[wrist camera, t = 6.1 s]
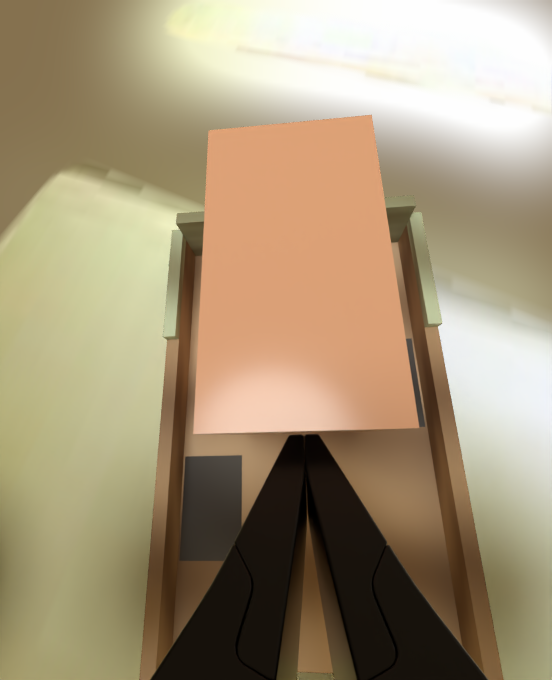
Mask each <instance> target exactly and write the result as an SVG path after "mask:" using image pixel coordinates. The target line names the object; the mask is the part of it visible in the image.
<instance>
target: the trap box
mask: <svg viewBox="0 0 552 680" xmlns="http://www.w3.org/2000/svg"><path fill="white" fill-rule="evenodd" d="M384 200H385V206H386V213H387V219H388V226H389V232H390V239H391V245H392V252H393V258H394V265H395V272H396V278H397V285H398V291H399V298H400V304H401V311H402V317H403V324H404V331H405V337H406V344H407V350H408V357H409V363H410V370H411V376H412V383H413V389H414V396H415V403H416V409H417V416H418V422H419V428H414V429H398V430H383V431H368V432H339V433H301V434H302V435H303V436H305V435H306V434H318V435H320V437H321V438H322V440H323V441H324V443H325V445H326V446H327V448H328V449H329V451H330V452H331V454H332V456H333V457H334V459H335V460H336V462H337V463H338V465H339V467H340V468H341V470H342V471H343V473H344V474H345V476H346V478H347V479H348V481H349V482H350V484H351V485H352V487H353V489H354V490H355V492H356V493H357V495H358V496H359V498H360V500H361V501H362V503H363V504H364V506H365V507H366V509H367V511H368V512H369V514H370V515H371V517H372V518H373V520H374V522H375V523H376V525H377V526H378V528H379V529H380V531H381V533H382V534H383V536H384V537H385V539H386V540H387V545H390V546H391V548H392V550H393V551H394V553H395V554H396V556H397V557H398V559H399V561H400V562H401V564H402V565H403V567H404V568H405V569H406V571H407V572H408V574H409V575H410V577H411V578H412V580H413V581H414V583H415V584H416V586H417V587H418V589H419V590H420V591H421V593H422V594H423V595H424V597H425V598H426V599H427V601H428V602H429V603H430V605H431V606H432V607H433V609H434V610H435V611H436V613H437V614H438V615H439V617H440V618H441V619H442V620H443V622H444V623H445V624H446V626H447V627H448V628H449V629H450V631H451V632H452V633H453V635H454V636H455V637H456V638H457V640H458V641H459V642H460V644H461V645H462V646H463V647H464V649H465V650H466V651H467V653H468V654H469V655H470V656H471V658H472V659H473V660H474V662H475V663H476V664H477V665H478V667H479V668H480V669H481V671H482V672H483V673H484V674H485V676H486V677H487V678H488V680H503V675H502V669H501V664H500V659H499V653H498V648H497V643H496V637H495V632H494V626H493V621H492V616H491V610H490V605H489V600H488V594H487V589H486V583H485V578H484V573H483V567H482V562H481V557H480V551H479V546H478V540H477V535H476V530H475V524H474V519H473V514H472V508H471V503H470V497H469V492H468V487H467V481H466V476H465V471H464V465H463V460H462V454H461V449H460V444H459V438H458V433H457V428H456V422H455V417H454V411H453V406H452V401H451V395H450V390H449V385H448V379H447V374H446V368H445V363H444V358H443V352H442V347H441V342H440V336H439V331H438V326H439V325H441V324H442V319H441V314H440V309H439V303H438V298H437V293H436V288H435V282H434V277H433V272H432V267H431V262H430V256H429V251H428V246H427V241H426V235H425V230H424V225H423V220H422V214H421V212H417V213H412V212H413V210H414V208H415V206H416V203H415V198H414V195H411V196H398V197H385V198H384ZM204 213H205V211H204V212H191V213H178V214H177V219H176V224H177V226H178V227H179V229H180V230H172V238H171V249H170V261H169V273H168V284H167V296H166V307H165V319H164V331H163V337H164V338H165V339H167V349H166V361H165V373H164V386H163V398H162V410H161V422H160V435H159V447H158V459H157V471H156V484H155V496H154V508H153V520H152V533H151V545H150V557H149V569H148V581H147V594H146V606H145V618H144V630H143V643H142V655H141V667H140V679H139V680H150V679H151V677H152V676H153V674H154V673H155V671H156V670H157V668H158V666H159V665H160V663H161V662H162V660H163V659H164V657H165V656H166V654H167V653H168V651H169V650H170V648H171V647H172V645H173V643H174V642H175V640H176V639H177V637H178V636H179V634H180V633H181V631H182V630H183V628H184V627H185V625H186V624H187V622H188V620H189V619H190V617H191V616H192V614H193V613H194V611H195V610H196V608H197V606H198V605H199V603H200V602H201V600H202V598H203V597H204V595H205V594H206V592H207V590H208V589H209V587H210V585H211V584H212V582H213V580H214V578H215V576H216V575H217V573H218V571H219V569H220V567H221V566H222V564H223V562H224V560H225V558H226V556H227V554H228V552H229V550H230V548H231V546H232V545H234V541H235V539H236V537H237V535H238V533H239V531H240V529H241V527H242V525H243V523H244V521H245V519H246V517H247V516H248V514H249V512H250V510H251V508H252V506H253V504H254V502H255V500H256V498H257V496H258V494H259V492H260V490H261V488H262V486H263V484H264V482H265V480H266V478H267V477H268V475H269V473H270V471H271V469H272V467H273V465H274V463H275V461H276V459H277V457H278V455H279V453H280V451H281V449H282V447H283V445H284V443H285V441H286V439H287V438H288V436H289V435H296V434H262V435H221V434H193V428H194V409H195V389H196V370H197V350H198V330H199V311H200V291H201V272H202V252H203V233H204ZM304 450H305V448H304ZM306 493H307V490H306ZM297 672H313V673H333V669H332V663H331V657H330V651H329V645H328V638H327V632H326V626H325V620H324V614H323V608H322V602H321V596H320V590H319V583H318V577H317V571H316V565H315V559H314V553H313V547H312V541H311V535H310V528H309V521H308V510H307V536H306V551H305V566H304V581H303V596H302V610H301V625H300V640H299V655H298V670H297Z"/></svg>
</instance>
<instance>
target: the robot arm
mask: <svg viewBox="0 0 552 680" xmlns="http://www.w3.org/2000/svg"><path fill="white" fill-rule="evenodd" d="M304 448H305V450H304ZM306 490H307V493H306ZM307 510H308V521H309V528H310V535H311V541H312V547H313V553H314V559H315V565H316V571H317V577H318V583H319V590H320V596H321V602H322V608H323V614H324V620H325V626H326V632H327V638H328V645H329V651H330V657H331V663H332V669H333V675H334V680H488V678H487V677H486V676H485V674H484V673H483V672H482V671H481V669H480V668H479V667H478V665H477V664H476V663H475V662H474V660H473V659H472V658H471V656H470V655H469V654H468V653H467V651H466V650H465V649H464V647H463V646H462V645H461V644H460V642H459V641H458V640H457V638H456V637H455V636H454V635H453V633H452V632H451V631H450V629H449V628H448V627H447V626H446V624H445V623H444V622H443V620H442V619H441V618H440V617H439V615H438V614H437V613H436V611H435V610H434V609H433V607H432V606H431V605H430V603H429V602H428V601H427V599H426V598H425V597H424V595H423V594H422V593H421V591H420V590H419V589H418V587H417V586H416V584H415V583H414V581H413V580H412V578H411V577H410V575H409V574H408V572H407V571H406V569H405V568H404V567H403V565H402V564H401V562H400V561H399V559H398V557H397V556H396V554H395V553H394V551H393V550H392V548H391V546H390V545H387V540H386V539H385V537H384V536H383V534H382V533H381V531H380V529H379V528H378V526H377V525H376V523H375V522H374V520H373V518H372V517H371V515H370V514H369V512H368V511H367V509H366V507H365V506H364V504H363V503H362V501H361V500H360V498H359V496H358V495H357V493H356V492H355V490H354V489H353V487H352V485H351V484H350V482H349V481H348V479H347V478H346V476H345V474H344V473H343V471H342V470H341V468H340V467H339V465H338V463H337V462H336V460H335V459H334V457H333V456H332V454H331V452H330V451H329V449H328V448H327V446H326V445H325V443H324V441H323V440H322V438H321V437H320V435H318V434H306V435H305V436H303V435H302V434H296V435H289V436H288V438H287V439H286V441H285V443H284V445H283V447H282V449H281V451H280V453H279V455H278V457H277V459H276V461H275V463H274V465H273V467H272V469H271V471H270V473H269V475H268V477H267V478H266V480H265V482H264V484H263V486H262V488H261V490H260V492H259V494H258V496H257V498H256V500H255V502H254V504H253V506H252V508H251V510H250V512H249V514H248V516H247V517H246V519H245V521H244V523H243V525H242V527H241V529H240V531H239V533H238V535H237V537H236V539H235V541H234V545H232V546H231V548H230V550H229V552H228V554H227V556H226V558H225V560H224V562H223V564H222V566H221V567H220V569H219V571H218V573H217V575H216V576H215V578H214V580H213V582H212V584H211V585H210V587H209V589H208V590H207V592H206V594H205V595H204V597H203V598H202V600H201V602H200V603H199V605H198V606H197V608H196V610H195V611H194V613H193V614H192V616H191V617H190V619H189V620H188V622H187V624H186V625H185V627H184V628H183V630H182V631H181V633H180V634H179V636H178V637H177V639H176V640H175V642H174V643H173V645H172V647H171V648H170V650H169V651H168V653H167V654H166V656H165V657H164V659H163V660H162V662H161V663H160V665H159V666H158V668H157V670H156V671H155V673H154V674H153V676H152V677H151V679H150V680H297V670H298V655H299V640H300V625H301V610H302V596H303V581H304V566H305V551H306V536H307Z"/></svg>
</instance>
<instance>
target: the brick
mask: <svg viewBox="0 0 552 680" xmlns="http://www.w3.org/2000/svg"><path fill="white" fill-rule="evenodd" d="M208 136H209V137H208V157H207V176H206V194H205V213H204V233H203V252H202V272H201V291H200V311H199V330H198V350H197V370H196V389H195V409H194V428H193V434H221V435H262V434H301V433H339V432H368V431H383V430H398V429H414V428H419V422H418V416H417V409H416V403H415V396H414V389H413V383H412V376H411V370H410V363H409V357H408V350H407V344H406V337H405V331H404V324H403V317H402V311H401V304H400V298H399V291H398V285H397V278H396V272H395V265H394V258H393V252H392V245H391V239H390V232H389V226H388V219H387V213H386V206H385V200H384V193H383V187H382V180H381V175H380V174H381V173H380V167H379V161H378V154H377V147H376V141H375V134H374V128H373V121H372V115H365V116H355V117H345V118H334V119H324V120H313V121H303V122H293V123H282V124H272V125H262V126H251V127H241V128H231V129H220V130H211V131H210V130H209V135H208Z"/></svg>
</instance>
